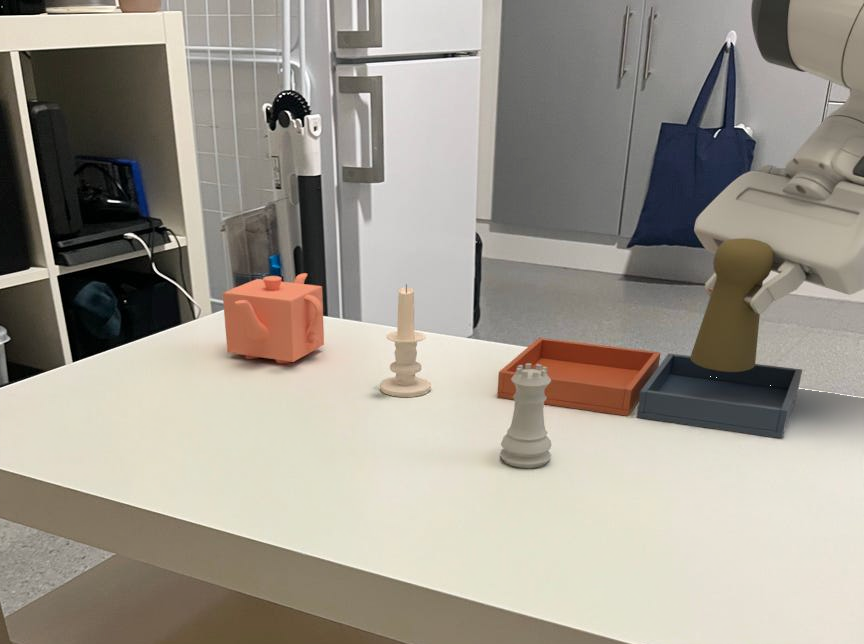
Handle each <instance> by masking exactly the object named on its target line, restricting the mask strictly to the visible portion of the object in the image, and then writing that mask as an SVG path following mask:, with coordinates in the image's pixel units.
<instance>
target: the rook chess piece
mask: <svg viewBox="0 0 864 644" xmlns="http://www.w3.org/2000/svg"><path fill="white" fill-rule="evenodd" d="M511 380H512V382H513V383H514V385H515V386H516V393H515V394H514V396H513V398H514V400H513V401H514V409H513V414H512V418H511V423H510V426H509V428H508V429H507V430H506V434H505V435H503V438H502V439H501V442H500V445H501V447H502V449H500V452H499V455H500V457H501V459H502V460H503V462H504V463H505V464H507V465H509V466H511V467H515V468H520V469H535V468H539V467H543V466H544V465H546V464H547V463H548V462H549V461H550V459H551V457H552V453H551V452H550V450H551V448H552V441H551V439H550V438H549V436H548V431H547V430H546V427H545V416H544V409H545V408H544V405H545V404H544V402H545V400H546V399H547V397H546V396H545V394H544V390H545V388H546V387H547V386H548V384H549V383H550V382H551V379H550V378H549V376H548V375H547V367H543V369H542V365H539V364H536V369H531V364H525V369H524V370H523V365H519V366H517V369H516V373H515V375H514V376H513V377H512V379H511Z"/></svg>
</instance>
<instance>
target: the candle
mask: <svg viewBox="0 0 864 644" xmlns="http://www.w3.org/2000/svg"><path fill="white" fill-rule="evenodd" d="M397 297H398V299H397V331H392V332H389V333H387V334H386V339H387V340H389V341H391V342H394V346H395V350H394V359H395V361H393V362H391V363H390V364H389V370H390V371H391V372H392V373H394V374H395V376H390V377H387V378H385V379H383V380H382V381H380V383H379V389H380V392H382V393H383V394H385V395H388V396H391V397H397V398H415V397H420V396H423V395H426V394H428V393H430V392H431V388H432V383H431V382H430V381H429V380H428V379H427V378H423V377H419V376H416V374H417V373H419V372H421V371H422V364H421V363H420V362H418V361H417V355H418V350H417V347H418V346H417V345H418V343H419V342H421V341H423V340H425V339H426V335H425V334H424V333H423V332H419V331H415V290H414V288H412V287H408V284H407V283H406V284H405V286H404V287H401V288H399V290H398V296H397Z"/></svg>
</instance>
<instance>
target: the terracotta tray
mask: <svg viewBox="0 0 864 644" xmlns="http://www.w3.org/2000/svg"><path fill="white" fill-rule="evenodd" d="M660 359H661V352H659V351H652V350H645V349H644V350H643V349H637V348H628V347H619V346H611V345H603V344H594V343H587V342H577V341H569V340H562V339H561V340H560V339H554V338H553V339H552V338H544V337H538V338H536V340H535V341H534V342H532V343H531V344H530V345H529V346H527V348H525V349H524V350H522V352H520V353H519V354H518V355H517V356H515V357H514V359H512V360H511V361H510V362H508V363H507V364H506V365H505V366H504V367H502V368H501V369H500V370H499V371H498V379H497V398H500V399H507V400H513V401H515V400H514V398H513V396H514V394H515V393H516V386H515V385H514V383H513V382H512V380H511V379H512V377H513V376H514V375H515V373H516V369H517V366H519V365H523V370H524V369H525V364H531V369H536V364H539V365H542V369H543V367H547V375H548V376H549V378H550V379H551V382H550V383H549V384H548V386H547V387H546V388H545V390H544V394H545V396H546V397H547V399H546V400H545V402H544V405H547V406H549V405H550V406H555V407H561V408H562V407H563V408H570V409H576V410H582V411H590V412H597V413H605V414H611V415H617V416H618V415H619V416H625V417H629V416H630V414H631V412H632V411H633V410H634V409H635V407H636V406H637V405H638V403H639V396H640V391H641V390H642V388H643V387H644V386H645V384H646V383H647V382H648V380H649V379H650V378H651V376H652V375H653V374H654V372H655V371H656V370H657V368H658V367H659V366H660V361H661V360H660Z"/></svg>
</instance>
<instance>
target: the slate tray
mask: <svg viewBox="0 0 864 644" xmlns="http://www.w3.org/2000/svg"><path fill="white" fill-rule="evenodd" d="M690 357H691V355H685V354H677V353H668V354H667V355H666V356H665V358H664V359H663V360H662V362H661V363H659V367H658V368H657V370H656V371H655V372H654V374H653V375H652V376H651V378H650V379H649V380H648V382H647V383H646V384H645V386H644V387H643V388H642V390H641V391H640V396H639V402H638V403H637V412H636V418H638V419H643V420H644V419H645V420H653V421H659V422H666V423H672V424H678V425H679V424H680V425H686V426H694V427H699V428H700V427H701V428H706V429H707V428H708V429H713V430H714V429H715V430H721V431H728V432H733V433H742V434H748V435H754V436H755V435H756V436H763V437H768V438H769V437H770V438H777V439H783V435H784V433H785V430H786V427H787V425H788V421H789V419H790V416H791V414H792V410H793V407H794V404H795V402H796V398H797V396H798V393H799V387H800V383H801V378H802V374H803V373H802V372H803V369H802V368H801V369H800V368H794V367H785V366H776V365H769V364H761V363H755V366H754V368H752V369H750V370H746V371H739V372H726V371H717V370H712V369H708V368H704V367H701V366H699V365H696V364H695V363H694V362H692V361H691V359H690ZM710 376H711V377H710ZM716 377H717V378H716ZM770 385H771V386H770Z"/></svg>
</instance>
